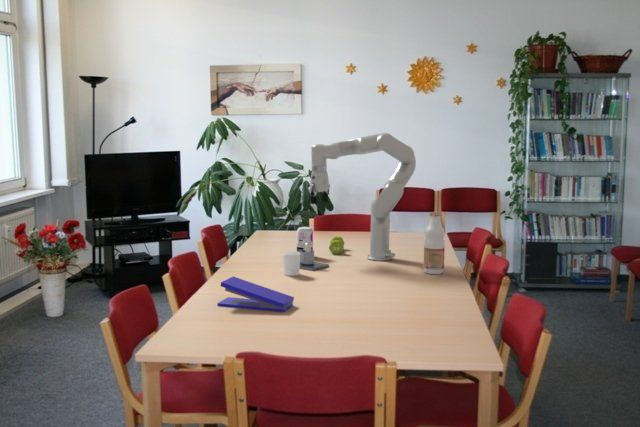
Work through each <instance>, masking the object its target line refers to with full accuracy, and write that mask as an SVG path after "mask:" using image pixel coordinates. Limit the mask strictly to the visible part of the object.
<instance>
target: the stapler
mask: <svg viewBox="0 0 640 427" xmlns="http://www.w3.org/2000/svg"><path fill="white" fill-rule="evenodd" d="M220 287H221V288H225V289H224V291H225V292H228V293H231V294H233V295H237V296H240V297H241V298H240V297H231V296H230V297H229V296H227V297H226V298H224V299H222V300H221V301H219V302H217V306H218V307H226V308H227V307H228V308H236V309H246V310H248V309H249V310H256V311H257V310H258V311H259V310H260V311H268V312H269V311H270V312H278V313H279V312H280V313H285V312H287V311H288V310H290V308H292V307H293V306H294V299H295V297H294V296H291V295H289V294H285V293H283V292H280V291H277V290H274V289H271V288H268V287H266V286H265V287H264V286H262V285H259V284H256V283H253V282H251V281H247V280H245V279H241V278H239V277H236V276H231V277H229V278H227V279H225V280H223V281H221V282H220ZM242 297H244V298H242Z"/></svg>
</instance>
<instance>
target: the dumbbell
mask: <svg viewBox="0 0 640 427" xmlns="http://www.w3.org/2000/svg"><path fill="white" fill-rule="evenodd" d="M344 245H345V241H344V239H343V237H342V236H340V235H338V236H337V235H335V236H333V237H332V238H331V240H330V242H329V246H328V249H329V251H330V253H331V254H332V255H341V254H342V252H343V251H344V248H345V247H344Z"/></svg>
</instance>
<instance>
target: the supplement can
mask: <svg viewBox="0 0 640 427" xmlns="http://www.w3.org/2000/svg"><path fill="white" fill-rule="evenodd" d="M305 243H311V250H314V230H313V227H310V226H299V227H298V228H297V230H296V252H299V250H304V245H305Z"/></svg>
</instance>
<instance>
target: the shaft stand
mask: <svg viewBox="0 0 640 427" xmlns="http://www.w3.org/2000/svg"><path fill="white" fill-rule="evenodd" d="M304 252H311V243H305V245H304ZM329 266H330V264H329V263H324V262H317V261H314V262H311V263H302V262H300V268H299V270H300V269H302V270H306V271H312V272H315V271H318V270H321V269H326V268H328V267H329Z"/></svg>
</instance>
